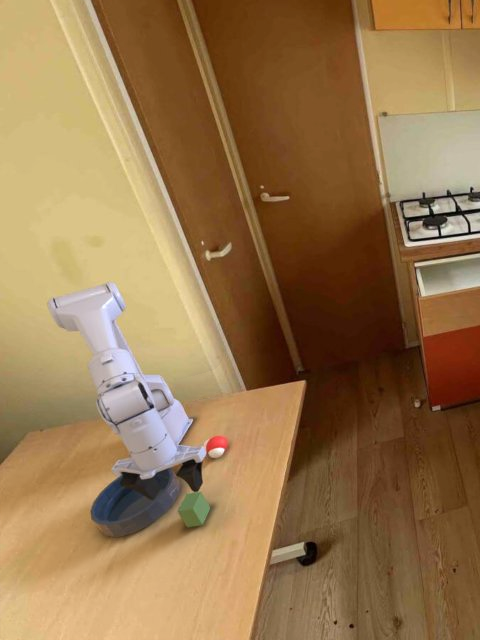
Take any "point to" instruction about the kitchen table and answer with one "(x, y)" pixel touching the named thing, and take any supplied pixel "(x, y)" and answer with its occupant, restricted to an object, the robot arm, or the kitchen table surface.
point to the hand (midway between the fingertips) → (177, 491)
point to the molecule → (215, 446)
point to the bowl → (133, 505)
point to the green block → (194, 509)
